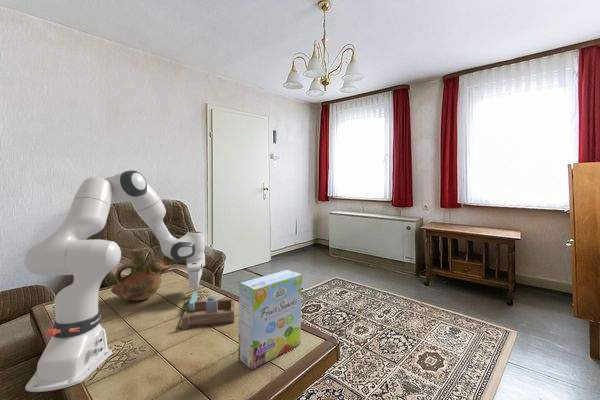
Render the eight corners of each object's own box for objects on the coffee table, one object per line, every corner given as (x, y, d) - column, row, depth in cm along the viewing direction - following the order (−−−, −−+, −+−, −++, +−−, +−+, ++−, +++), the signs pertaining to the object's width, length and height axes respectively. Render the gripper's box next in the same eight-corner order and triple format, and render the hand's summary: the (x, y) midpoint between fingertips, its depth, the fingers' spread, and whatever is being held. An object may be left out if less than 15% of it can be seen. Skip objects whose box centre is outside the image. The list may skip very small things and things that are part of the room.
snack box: (253, 372, 86) (252, 289, 85) (237, 360, 92) (236, 282, 91) (302, 344, 102) (302, 273, 100) (286, 335, 108) (285, 268, 106)
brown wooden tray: (233, 324, 116) (233, 313, 116) (178, 330, 111) (178, 319, 111) (234, 296, 145) (234, 288, 144) (190, 300, 140) (190, 291, 140)
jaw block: (217, 316, 121) (216, 299, 120) (205, 317, 120) (205, 300, 119) (217, 312, 125) (217, 295, 125) (207, 313, 124) (206, 296, 124)
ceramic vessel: (173, 298, 142) (171, 249, 141) (111, 310, 129) (109, 256, 127) (168, 288, 157) (166, 243, 156) (111, 298, 143) (110, 248, 142)
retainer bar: (193, 310, 126) (192, 303, 126) (189, 310, 126) (189, 303, 126) (197, 298, 140) (197, 291, 140) (193, 298, 139) (193, 292, 139)
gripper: (192, 257, 153) (192, 282, 154) (186, 268, 133) (186, 297, 134) (204, 257, 155) (205, 281, 156) (200, 268, 135) (200, 296, 136)
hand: (196, 289), depth 145 cm, fingers closed
